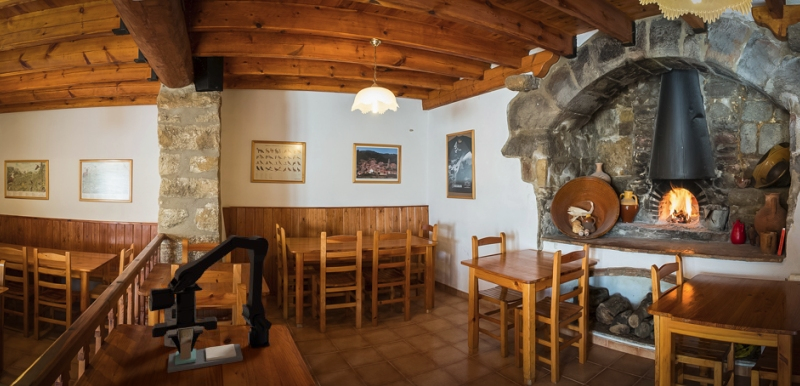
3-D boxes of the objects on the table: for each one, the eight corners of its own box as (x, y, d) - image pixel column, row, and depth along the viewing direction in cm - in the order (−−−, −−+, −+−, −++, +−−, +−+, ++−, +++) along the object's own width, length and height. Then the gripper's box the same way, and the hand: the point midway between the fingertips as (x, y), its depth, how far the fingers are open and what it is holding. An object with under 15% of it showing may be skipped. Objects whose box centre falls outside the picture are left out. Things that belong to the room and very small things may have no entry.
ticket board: (239, 347, 151) (239, 341, 151) (242, 360, 140) (242, 354, 140) (169, 357, 141) (169, 351, 141) (167, 372, 131) (167, 366, 131)
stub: (195, 350, 144) (195, 334, 143) (196, 361, 135) (196, 343, 135) (176, 353, 141) (176, 336, 141) (175, 364, 133) (175, 346, 133)
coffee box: (181, 336, 160) (181, 294, 159) (196, 338, 158) (196, 296, 158) (163, 346, 151) (163, 301, 150) (179, 348, 149) (179, 303, 149)
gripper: (215, 295, 149) (215, 339, 149) (154, 301, 141) (155, 347, 141) (217, 304, 139) (217, 351, 139) (151, 311, 131) (152, 361, 131)
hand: (185, 352), depth 138 cm, fingers closed on stub, 3 cm apart
